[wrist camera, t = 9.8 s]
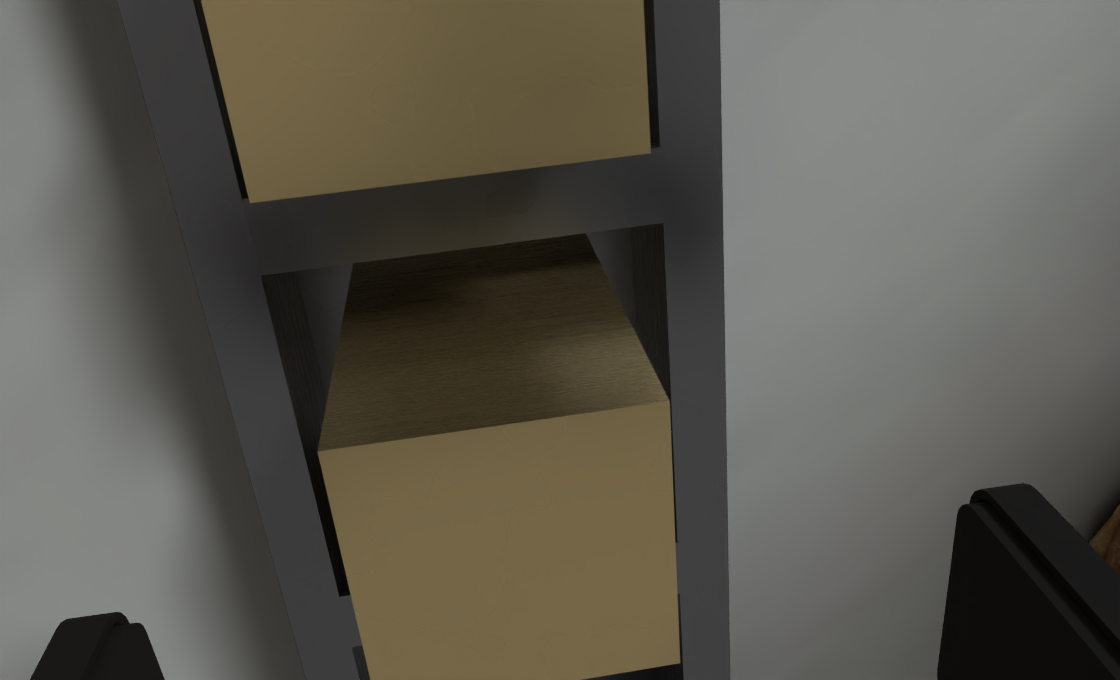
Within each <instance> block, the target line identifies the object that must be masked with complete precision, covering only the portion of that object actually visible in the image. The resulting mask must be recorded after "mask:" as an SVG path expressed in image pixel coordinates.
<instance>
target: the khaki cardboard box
mask: <svg viewBox="0 0 1120 680" xmlns="http://www.w3.org/2000/svg"><path fill="white" fill-rule="evenodd" d="M201 3H202V7H203V11H204V15H205V19H206V23H207V28H208V32H209V36H210V40H211V44H212V48H213V52H214V57H215V61H216V65H217V69H218V73H219V77H220V81H221V85H222V90H223V94H224V98H225V102H226V106H227V110H228V114H229V119H230V123H231V127H232V131H233V135H234V139H235V143H236V147H237V152H238V156H239V160H240V164H241V168H242V172H243V176H244V181H245V185H246V189H247V193H248V197H249V201H250V203H255V202H263V201H271V200H279V199H287V198H295V197H303V196H311V195H319V194H327V193H335V192H344V191H352V190H360V189H368V188H376V187H384V186H392V185H400V184H408V183H416V182H424V181H432V180H440V179H448V178H456V177H464V176H472V175H480V174H488V173H496V172H504V171H512V170H520V169H529V168H537V167H545V166H553V165H561V164H569V163H577V162H585V161H593V160H601V159H609V158H617V157H625V156H633V155H641V154H649V153H651V145H650V125H649V104H648V84H647V63H646V43H645V22H644V2H643V0H201Z"/></svg>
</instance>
